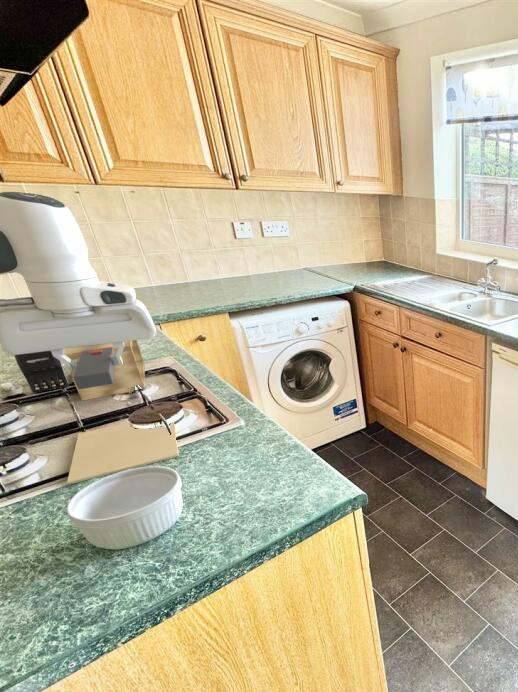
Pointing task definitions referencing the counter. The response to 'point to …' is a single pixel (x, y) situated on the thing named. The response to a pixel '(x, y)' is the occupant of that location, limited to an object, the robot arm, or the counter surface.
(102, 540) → the ramekin
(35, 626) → the counter surface
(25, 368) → the battery charger
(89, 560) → the counter surface
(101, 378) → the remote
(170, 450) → the mat
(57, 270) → the robot arm
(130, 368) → the wooden crate
